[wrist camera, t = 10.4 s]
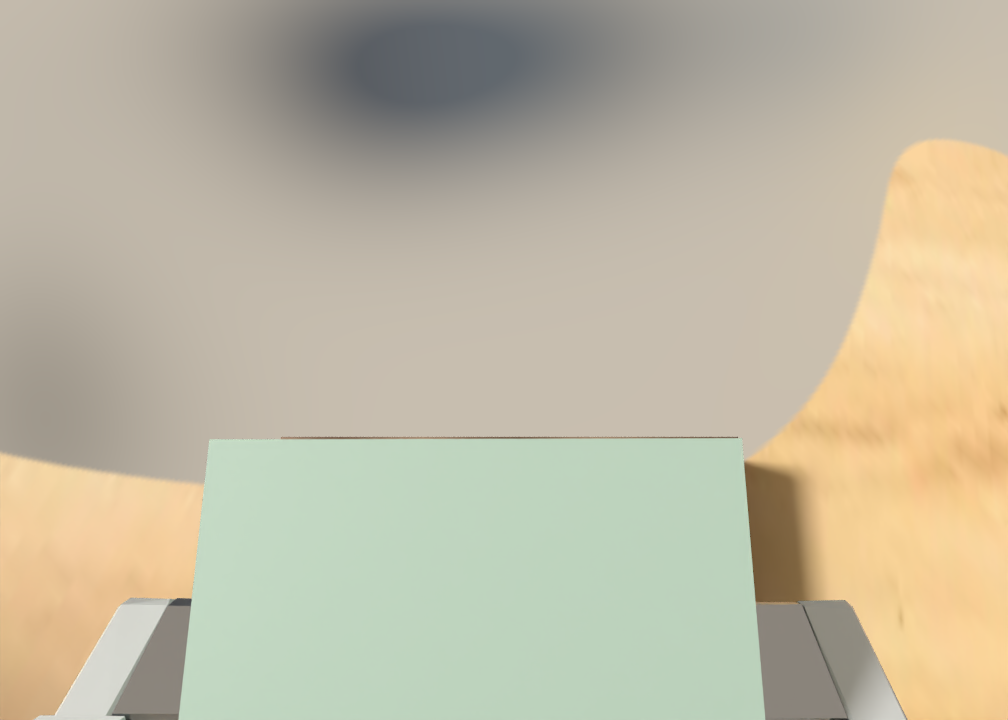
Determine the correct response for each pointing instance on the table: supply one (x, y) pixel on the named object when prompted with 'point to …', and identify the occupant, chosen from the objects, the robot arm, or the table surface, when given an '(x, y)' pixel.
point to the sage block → (473, 581)
